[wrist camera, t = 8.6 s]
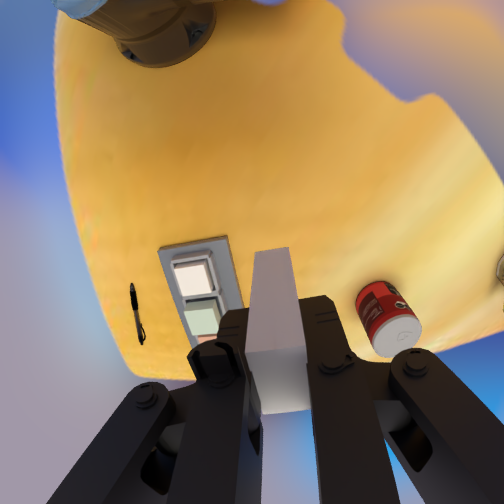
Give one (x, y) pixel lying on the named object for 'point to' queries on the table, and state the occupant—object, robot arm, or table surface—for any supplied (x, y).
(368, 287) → the canned food
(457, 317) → the table surface
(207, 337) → the key terracotta
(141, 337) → the pen
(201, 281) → the key ivory
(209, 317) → the key green
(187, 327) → the keypad
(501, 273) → the ceramic cup
